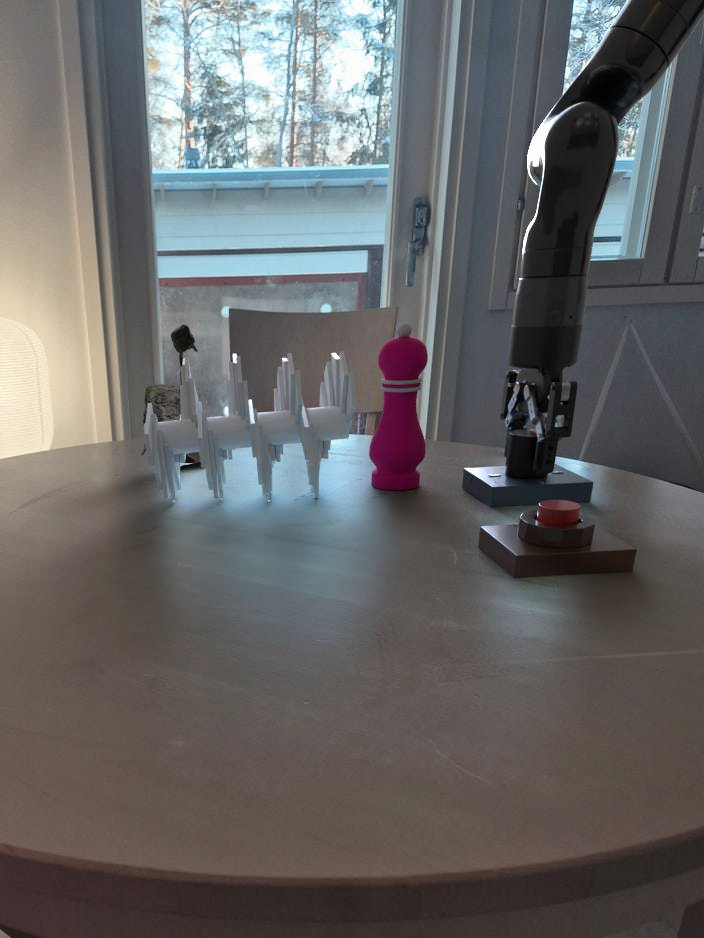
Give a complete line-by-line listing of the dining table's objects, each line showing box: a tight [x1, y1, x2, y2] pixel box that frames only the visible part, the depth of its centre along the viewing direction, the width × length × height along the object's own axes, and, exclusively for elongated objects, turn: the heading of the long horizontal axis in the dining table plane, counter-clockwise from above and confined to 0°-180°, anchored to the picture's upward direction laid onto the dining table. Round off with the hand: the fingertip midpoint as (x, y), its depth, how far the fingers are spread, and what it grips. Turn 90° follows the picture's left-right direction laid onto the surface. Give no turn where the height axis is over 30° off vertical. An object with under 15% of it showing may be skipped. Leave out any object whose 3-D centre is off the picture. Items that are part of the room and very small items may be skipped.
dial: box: [504, 428, 548, 479], centre depth 90 cm, size 5×5×5 cm
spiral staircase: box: [143, 350, 358, 501], centre depth 92 cm, size 18×18×25 cm
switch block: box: [477, 509, 638, 579], centre depth 70 cm, size 11×9×4 cm
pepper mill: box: [368, 322, 429, 491], centre depth 95 cm, size 7×7×20 cm
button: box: [536, 500, 582, 526], centre depth 69 cm, size 4×4×2 cm
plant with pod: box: [140, 323, 201, 464], centre depth 111 cm, size 8×11×20 cm
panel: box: [461, 463, 594, 509], centre depth 92 cm, size 12×10×3 cm
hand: (527, 465), depth 91 cm, fingers open, 8 cm apart
